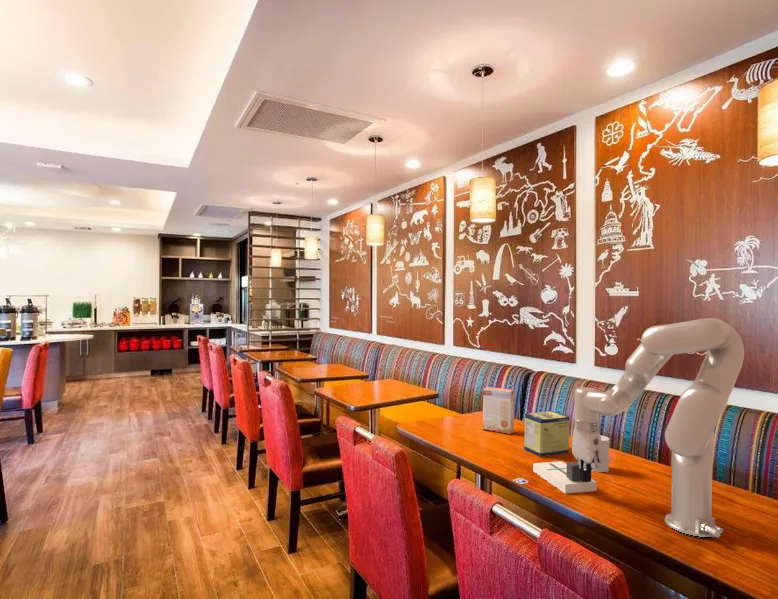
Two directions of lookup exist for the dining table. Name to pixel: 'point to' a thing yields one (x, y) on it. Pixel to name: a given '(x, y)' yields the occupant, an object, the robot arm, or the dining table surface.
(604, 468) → the white cylinder
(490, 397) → the cracker box
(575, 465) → the fader knob
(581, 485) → the fader console
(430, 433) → the dining table surface
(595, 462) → the robot arm
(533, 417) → the protein box
